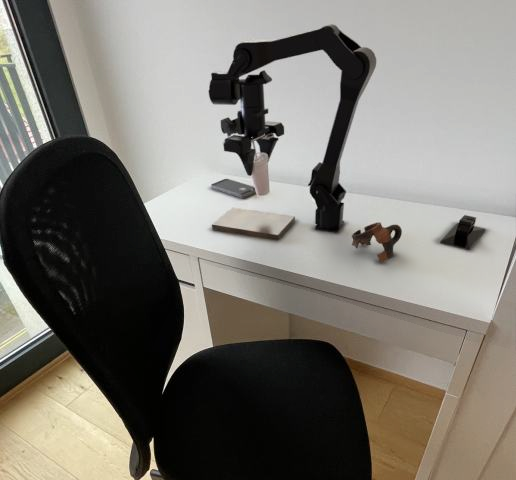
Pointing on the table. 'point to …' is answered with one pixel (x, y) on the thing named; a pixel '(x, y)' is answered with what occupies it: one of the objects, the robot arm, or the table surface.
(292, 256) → the table surface
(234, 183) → the phone
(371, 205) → the table surface
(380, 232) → the brown irregular piece
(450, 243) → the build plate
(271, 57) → the robot arm
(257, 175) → the smoothie
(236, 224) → the board
